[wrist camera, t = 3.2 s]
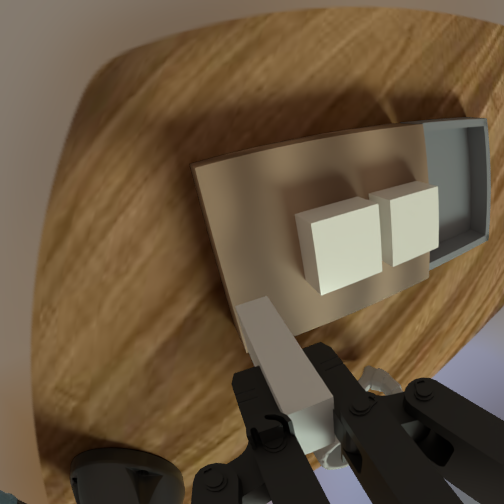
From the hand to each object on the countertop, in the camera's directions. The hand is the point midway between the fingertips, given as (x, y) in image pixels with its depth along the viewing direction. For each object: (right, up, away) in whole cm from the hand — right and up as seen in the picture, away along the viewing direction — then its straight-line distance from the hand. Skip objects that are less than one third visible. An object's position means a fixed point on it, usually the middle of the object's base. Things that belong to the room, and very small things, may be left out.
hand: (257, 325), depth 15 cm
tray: (+20, +10, +14) cm, 27 cm away
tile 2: (+5, +4, +8) cm, 10 cm away
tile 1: (+11, +6, +9) cm, 15 cm away
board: (+5, +6, +11) cm, 14 cm away
